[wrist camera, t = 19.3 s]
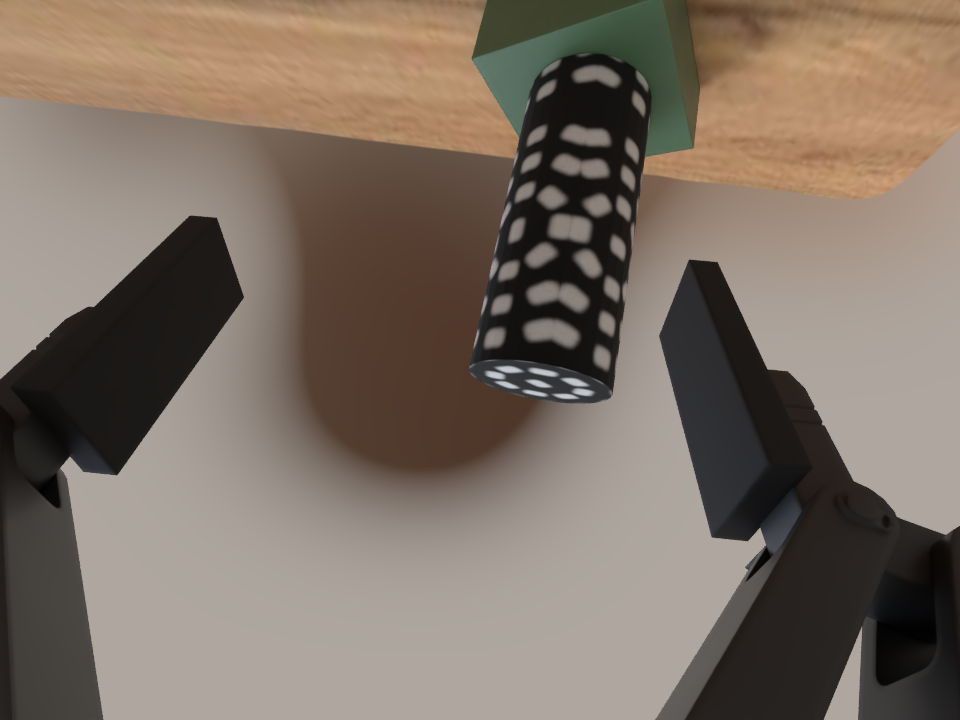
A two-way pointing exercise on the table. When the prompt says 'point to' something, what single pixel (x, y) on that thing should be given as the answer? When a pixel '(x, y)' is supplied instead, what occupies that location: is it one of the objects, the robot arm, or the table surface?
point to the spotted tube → (566, 235)
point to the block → (599, 30)
